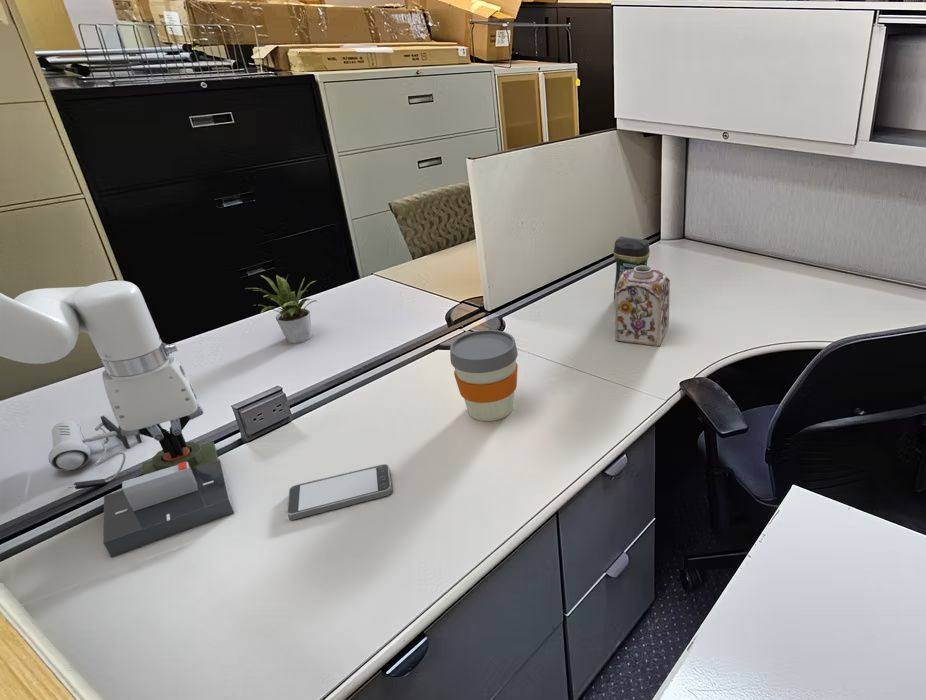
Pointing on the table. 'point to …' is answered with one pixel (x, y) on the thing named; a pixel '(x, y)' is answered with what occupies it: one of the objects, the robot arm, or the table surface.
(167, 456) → the button
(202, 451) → the button housing
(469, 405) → the reusable coffee cup
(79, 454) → the clip-on lamp
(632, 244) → the coffee jar
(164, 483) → the bevelled grey block
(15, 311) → the robot arm
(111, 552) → the dial base
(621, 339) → the decorative jar
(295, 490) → the smartphone
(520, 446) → the table surface
